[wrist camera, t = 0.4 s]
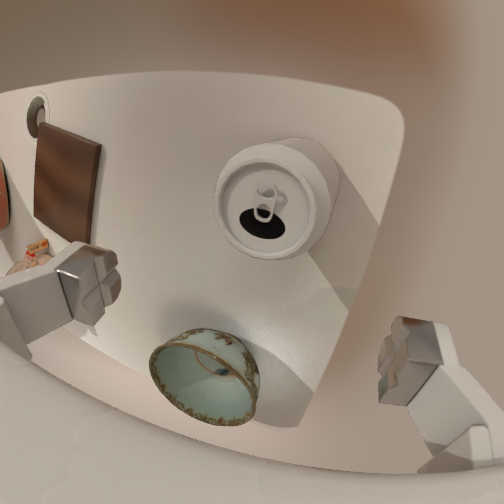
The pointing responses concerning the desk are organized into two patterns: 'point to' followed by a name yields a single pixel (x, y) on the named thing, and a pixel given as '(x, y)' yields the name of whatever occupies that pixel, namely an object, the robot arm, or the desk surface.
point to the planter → (3, 199)
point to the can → (276, 197)
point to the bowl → (207, 376)
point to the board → (65, 182)
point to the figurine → (32, 257)
